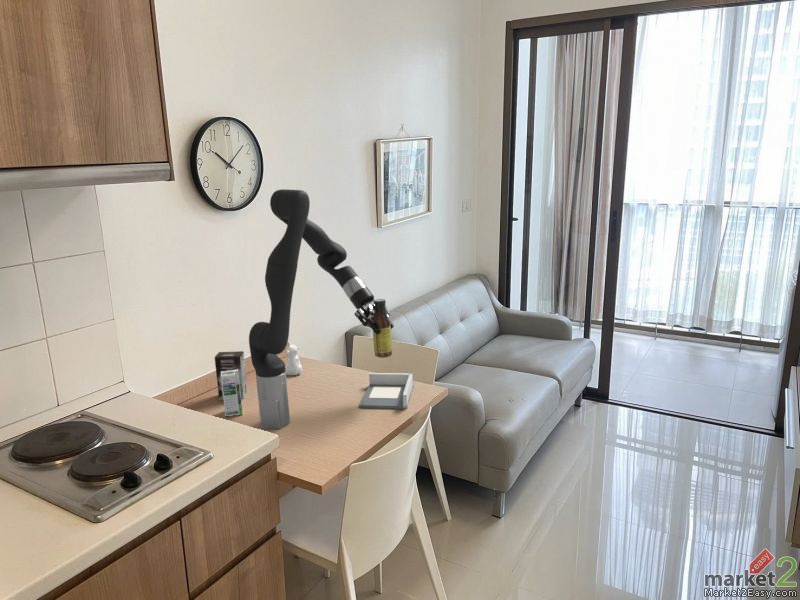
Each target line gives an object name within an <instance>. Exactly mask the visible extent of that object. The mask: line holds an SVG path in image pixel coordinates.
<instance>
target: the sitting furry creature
mask: <svg viewBox="0 0 800 600" xmlns="http://www.w3.org/2000/svg"><path fill="white" fill-rule="evenodd" d="M299 350H301V346H300V345H297V346H296V345H295V344H291V345H288V348H287V349H286V353H285V354H286V355H287V362H286V363H287V364H286V365H287V366H286V367H285V369H286V376H289V375H290V376H291V375H296V376H299V375H301V374H302V373H303V366H302V364H301V362H300V357H299V356H298V355H297V354H298V352H299ZM300 373H301V374H300ZM298 374H299V375H298Z"/></svg>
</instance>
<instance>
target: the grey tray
mask: <svg viewBox="0 0 800 600" xmlns="http://www.w3.org/2000/svg"><path fill="white" fill-rule="evenodd" d="M368 379H369V385H368V387H367V389H366V391H365V393H364V396H363V397H362V399H361V402H360V404H359V409H388V410H389V409H391V408H394V409H396V410H398V409H400V410H401V409H403V410H407V409H408V408H409V407H408V406H409V403H410V400H411V396H412V393H411V392H413V390H412V389H413V388H414V373H413V372H411V373H407V372H369V373H368ZM391 410H392V409H391Z"/></svg>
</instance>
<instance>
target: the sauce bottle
mask: <svg viewBox="0 0 800 600" xmlns="http://www.w3.org/2000/svg"><path fill="white" fill-rule="evenodd" d="M374 305H375V314H374V321H375V322H376V324H377V325H378V326H379V328H380V329H381V332H380V333H379V334H378V335H377V334H376V333H375V332H374V331H373V330H372V337H373V339H372V340H373V351H374V356H375V357H377V358H379V359H380V358H383V359H384V358H389V357H391V356H392V355H393V341H392V339H393V338H392V329H391V326H390V321H389V319H390V317H389V318H388V316H387V312H386V309H385V305H386V299H385V298H377V299H375V298H374ZM375 322H374V323H375Z"/></svg>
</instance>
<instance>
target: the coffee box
mask: <svg viewBox="0 0 800 600" xmlns="http://www.w3.org/2000/svg"><path fill="white" fill-rule="evenodd" d="M245 363H246V362H245V354H244V351H243V350H241V351H240V350H239V351H219V352H217V354H216V355H215V356H214V366H215V373H216V383H217V393H218V401H219V400H222V401H223V393H222V385H221V371H229V370H236V369H238V374H239V383H240V392H241V400H242V399H243V400H244V399H245V398H246V395H247V394H248V387H247V377H246V365H245Z"/></svg>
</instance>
